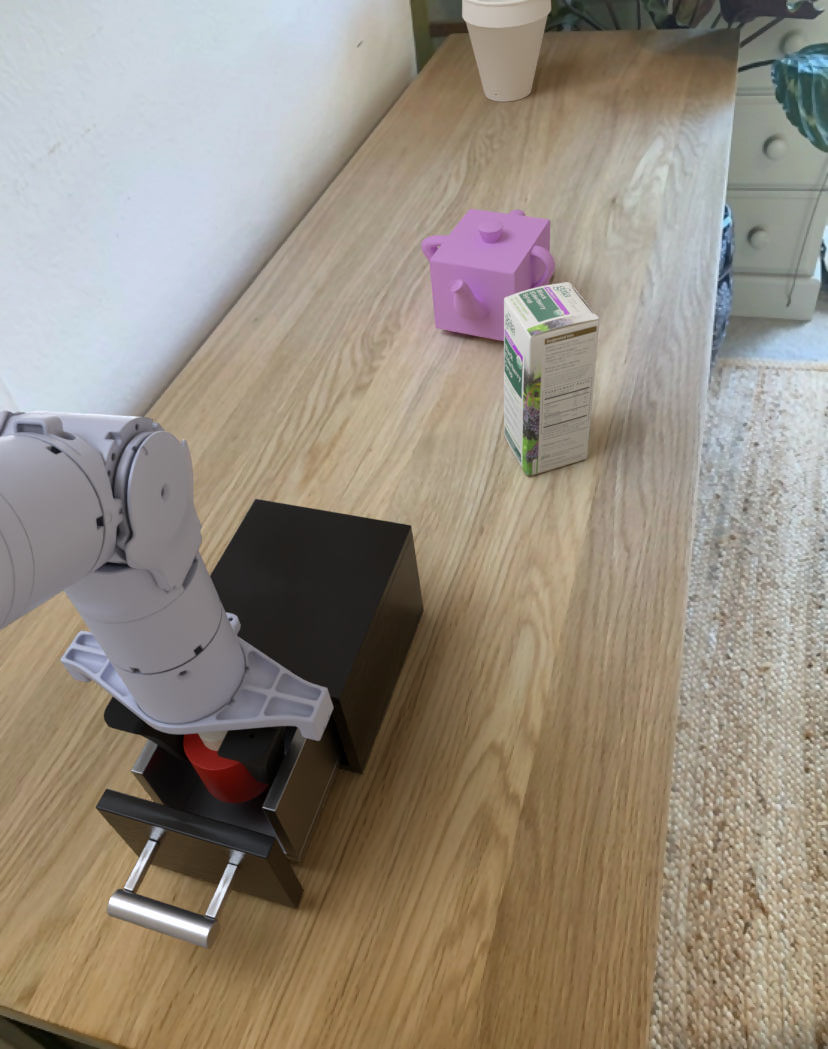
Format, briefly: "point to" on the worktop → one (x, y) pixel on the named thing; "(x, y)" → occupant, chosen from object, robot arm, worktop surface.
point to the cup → (506, 43)
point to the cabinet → (327, 606)
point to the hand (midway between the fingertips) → (234, 758)
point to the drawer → (219, 833)
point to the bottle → (220, 769)
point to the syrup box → (548, 376)
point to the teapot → (486, 268)
